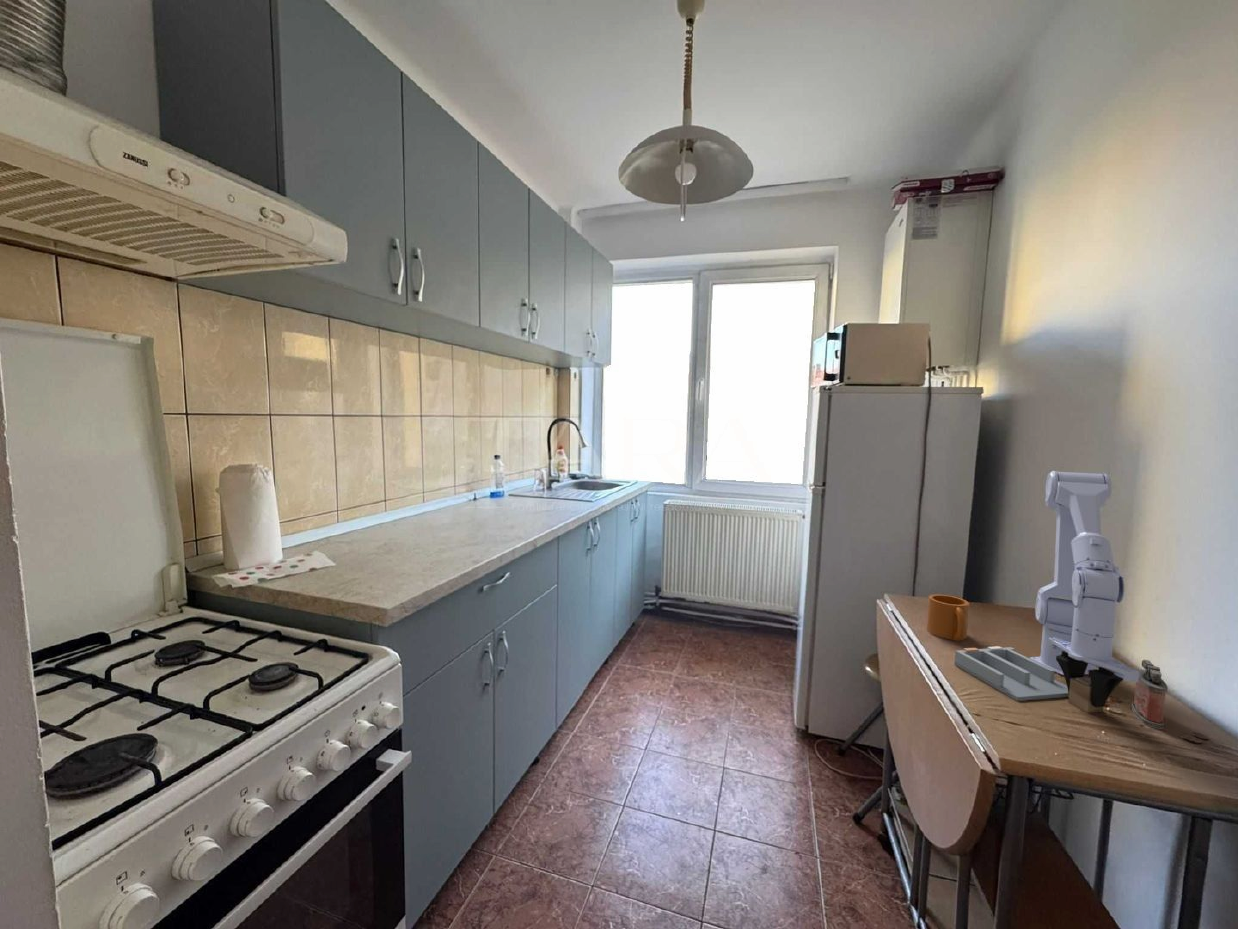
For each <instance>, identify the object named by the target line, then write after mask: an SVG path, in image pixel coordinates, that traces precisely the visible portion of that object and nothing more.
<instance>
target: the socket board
mask: <svg viewBox="0 0 1238 929" xmlns="http://www.w3.org/2000/svg"><path fill="white" fill-rule="evenodd" d="M954 665H955V666H956V667H957V668H959V669H960V670H963V671H965V672H966V673H968V674H970V675H971V676H973V677H975V678H977V679H978V680H980V681H982V682H984V683H985V684H987V685H989V686H990V687H992V688H994V689H996V690H998V692H1000V693H1002V694H1004V695H1006V696H1007V697H1010V698H1011V699H1013V700H1015V701H1016V702H1022V701H1023V702H1024V701H1032V700H1033V701H1034V700H1046V699H1057V698H1069V693H1068V688H1067V684H1064V683H1062V682H1060V681H1058V680H1056V679H1055V673H1056V672H1055V671H1054V670H1052V669H1050V668H1048V667H1046V666H1044V665H1042V664H1040V663H1038V662H1036V661H1034V660H1031V659H1030V657H1028V656H1025V655H1023V654H1021V653H1019V652H1017V651H1016V649H1015V648H1013V647H1012V646H1009V647H1008V646H1007V647H1002V646H999V645H998V646H987V647H986V648H977V647H965V648H963V650H961V649H959V650H955V656H954Z"/></svg>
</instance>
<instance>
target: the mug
mask: <svg viewBox="0 0 1238 929" xmlns="http://www.w3.org/2000/svg"><path fill="white" fill-rule="evenodd" d="M927 602H928V603H927V615H926V616H927V617H926V618H927V620H926V631H927V632H928V633H930V634H931V635H933V636H936V637H938V638H942V639H945V638H946V640H951V641H952V640H953V641H956V642H961V641H963V640H962V639H964V640H966V639H967V638H968V628H969V626H968V625H969V612H970V603H969V601H967V600H966V599H963V598H961V597H958V596H953V595H946V594H931V595H928V601H927ZM965 638H966V639H965Z"/></svg>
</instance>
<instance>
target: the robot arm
mask: <svg viewBox="0 0 1238 929" xmlns="http://www.w3.org/2000/svg"><path fill="white" fill-rule="evenodd" d="M1046 477H1047V478H1046V481H1045V482H1046V483H1045V499H1044V500H1045V504H1046V508H1049V509H1051V510H1053V511H1054V514H1055V519H1056V529H1055V550H1054V551H1055V554H1054V570H1053V571H1054V572H1053V573H1054V574H1053V578H1054V579H1053V582H1051V583H1049V584H1047V585H1044V586H1043V587H1042V586H1041V588H1039V589H1038V591H1037V595H1036V600H1035V608H1034V611H1035V612H1034V613H1035V619H1036V621H1038V623H1040V624H1042V634H1041V635H1042V636H1041V647H1040V655H1039V656H1030V657H1029V659H1031V660H1034V661H1036V662H1038V663H1040V664H1042V665H1044V666H1046V667H1048V668H1050V669H1052V670H1054V671H1055V673H1057V674H1060V675H1062V676H1064V679H1065V685H1066V686H1067V688H1068V693H1069V689H1070V678H1079V677H1085V675H1089V679H1091V684H1092V695H1091V703H1092V706H1094V707H1103V708H1104V707H1105V706H1106V703H1107V701H1108V699H1109V697H1110V696H1111V694H1112V692H1113V691H1114V690H1115V689H1116V688H1117V687H1118V686H1119V684H1121V682H1123V681H1124V682H1127V683H1136V682H1138V678H1139V672H1138V671H1136V669H1133V668H1132V667H1129V666H1128V665H1126V664H1124V663H1122V662H1121V661H1120V660H1117V659H1116V658H1115V657H1113V646H1114V635H1115V624H1116V616H1117V605H1118V604H1117V603H1119V604H1120V603H1122V602H1123V599H1124V596H1125V590H1126V589H1125V580H1124V579H1125V578H1124V577H1123V576H1124V575H1123V573H1122V572H1121V571H1120V568H1119V566H1115V561H1114V560H1115V559H1114V556H1113V552H1112V551H1113V550H1112V545H1111V544H1112V543H1111V541H1110V540H1109V539H1108V538H1107V537H1105V536H1103V535H1102V529H1101V528H1102V526H1101V525H1102V524H1101V521H1102V520H1101V508H1102V507H1104V506H1105V505H1106V503H1107V501H1108V500H1109V499H1110V497H1111V494H1112V490H1113V489H1112V487H1113V484H1112V479H1111V477H1110V476H1109V475H1108V474H1107V473H1090V472H1087V473H1086V472H1071V471H1070V472H1069V471H1068V472H1067V471H1056V470H1051V472H1049V473H1048V474H1047V476H1046ZM1058 597H1059V598H1058ZM1060 597H1061V598H1060ZM1066 598H1067V599H1066ZM1096 668H1097V669H1096Z"/></svg>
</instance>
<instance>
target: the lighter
mask: <svg viewBox="0 0 1238 929" xmlns="http://www.w3.org/2000/svg"><path fill="white" fill-rule="evenodd" d="M1141 666H1142V668H1143V669H1138V668H1137V669H1135V670H1136V671H1138V672H1139V678H1138V682H1135V687H1134V697H1133V698H1134V699H1133V702H1132V703H1131V709H1132V712H1133V714H1134V716H1135V717H1136V718H1137V719H1138V720H1139V721H1140V722H1141V723H1143V724H1144V725H1146V726H1148V727H1150V728H1154V729H1158V730H1162V729H1164V725H1165V723H1164V720H1163V718H1164V709H1165V700H1166V694H1167V693H1168V686H1167V684H1166V682H1165V681H1164V679H1162V677H1163V676H1162V672H1161V669H1160V667H1159V666H1157V665H1154V664H1153V663H1152V662H1151V661H1150V660H1148V659H1143V660H1141Z"/></svg>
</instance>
